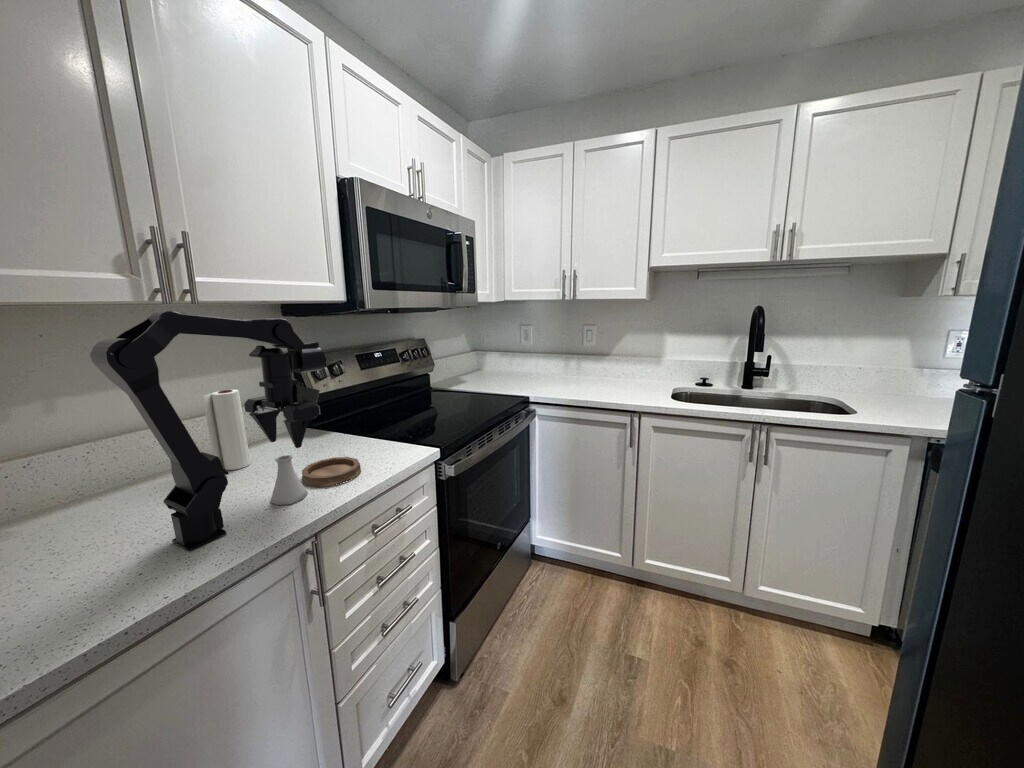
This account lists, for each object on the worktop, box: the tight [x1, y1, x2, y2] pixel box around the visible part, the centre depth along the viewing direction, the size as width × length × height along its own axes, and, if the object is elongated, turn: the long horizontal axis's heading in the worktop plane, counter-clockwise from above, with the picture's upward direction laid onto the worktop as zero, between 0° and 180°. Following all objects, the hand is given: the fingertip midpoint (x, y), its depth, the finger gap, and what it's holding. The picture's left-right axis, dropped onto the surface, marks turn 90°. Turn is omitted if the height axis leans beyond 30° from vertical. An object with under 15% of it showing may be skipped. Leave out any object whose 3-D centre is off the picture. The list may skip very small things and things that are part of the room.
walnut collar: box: [301, 456, 362, 488], centre depth 105 cm, size 14×14×2 cm
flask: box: [269, 454, 309, 506], centre depth 92 cm, size 7×7×10 cm
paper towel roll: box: [202, 389, 251, 471], centre depth 110 cm, size 7×6×21 cm
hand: (285, 444), depth 91 cm, fingers open, 9 cm apart
